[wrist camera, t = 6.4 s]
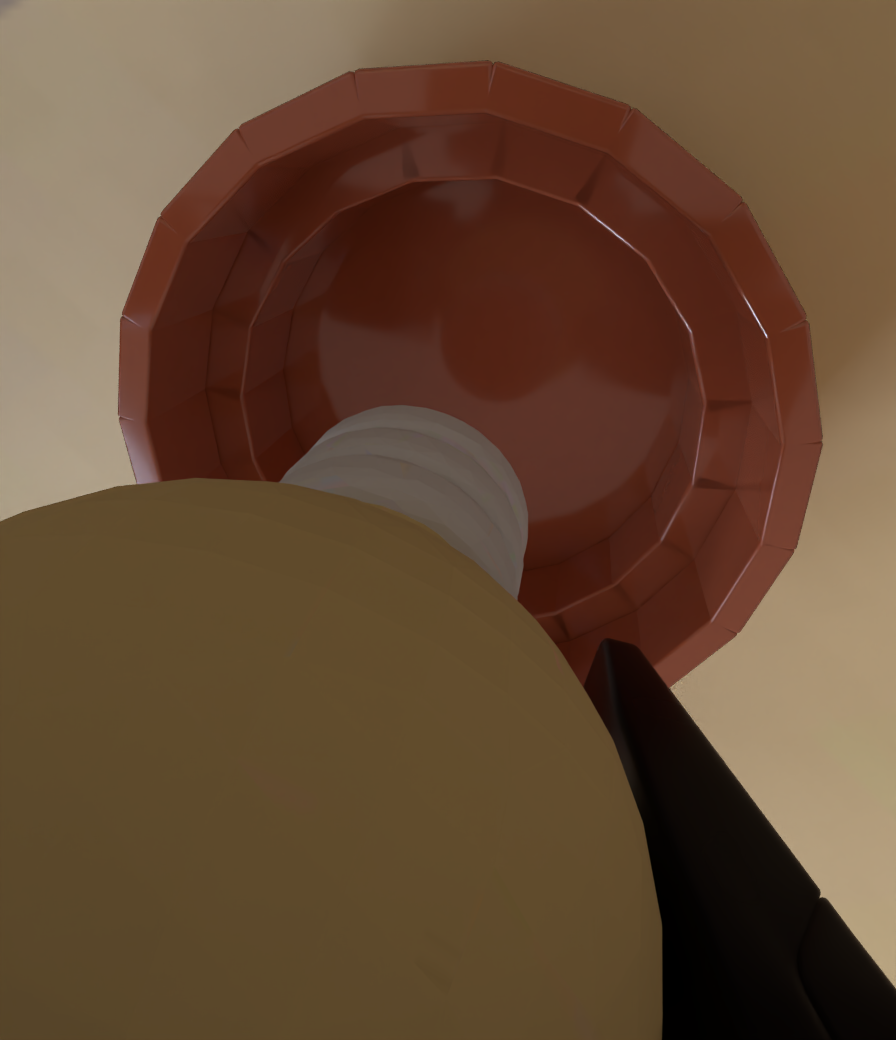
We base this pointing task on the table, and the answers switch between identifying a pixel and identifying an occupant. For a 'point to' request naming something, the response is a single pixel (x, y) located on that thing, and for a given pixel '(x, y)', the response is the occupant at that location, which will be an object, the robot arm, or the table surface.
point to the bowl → (496, 334)
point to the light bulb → (309, 765)
